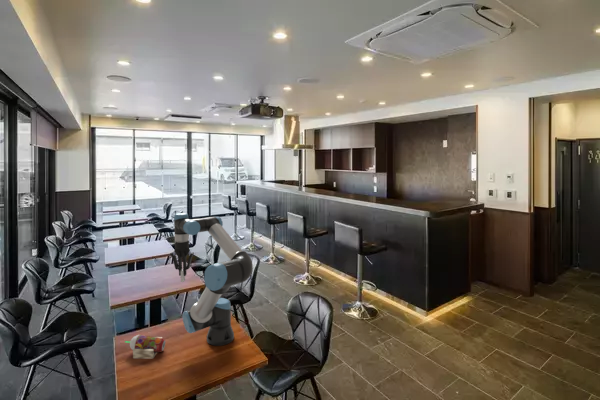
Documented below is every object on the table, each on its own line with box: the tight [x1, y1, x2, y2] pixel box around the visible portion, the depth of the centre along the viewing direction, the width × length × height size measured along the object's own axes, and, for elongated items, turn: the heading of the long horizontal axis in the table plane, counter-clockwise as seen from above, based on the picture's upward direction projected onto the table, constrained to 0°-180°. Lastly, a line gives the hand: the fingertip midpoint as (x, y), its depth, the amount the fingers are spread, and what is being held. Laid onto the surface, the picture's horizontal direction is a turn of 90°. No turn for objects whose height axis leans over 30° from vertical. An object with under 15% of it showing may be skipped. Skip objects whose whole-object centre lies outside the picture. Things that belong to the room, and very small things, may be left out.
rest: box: [132, 336, 164, 360], centre depth 178 cm, size 10×13×4 cm
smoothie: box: [124, 334, 166, 353], centre depth 177 cm, size 8×8×20 cm
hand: (182, 280), depth 191 cm, fingers closed
